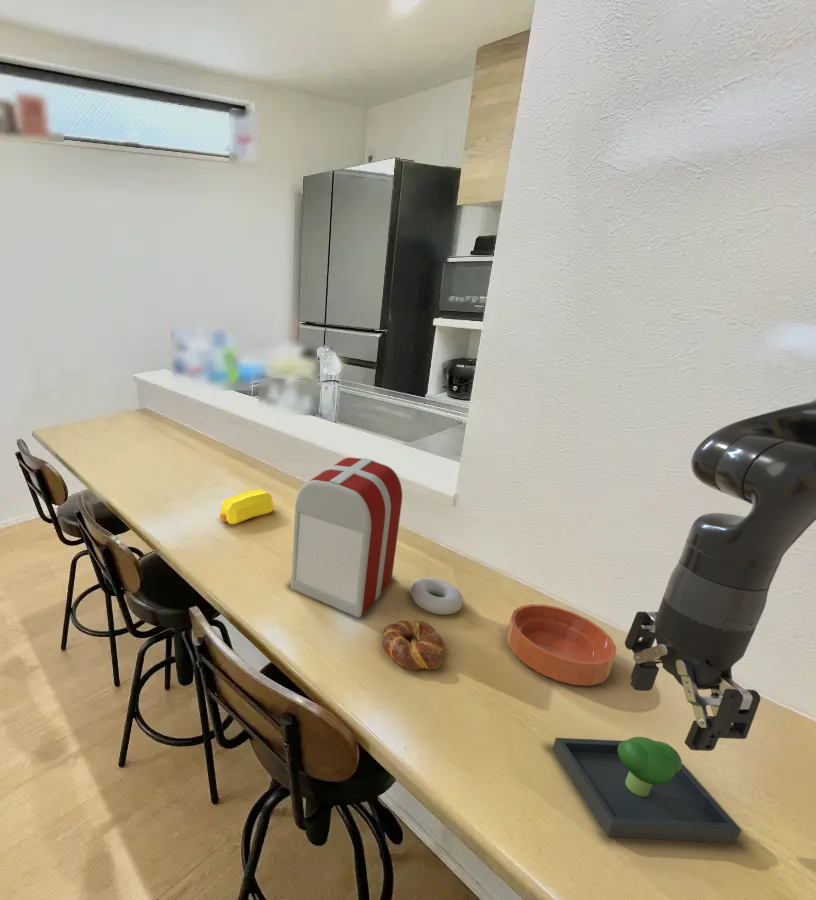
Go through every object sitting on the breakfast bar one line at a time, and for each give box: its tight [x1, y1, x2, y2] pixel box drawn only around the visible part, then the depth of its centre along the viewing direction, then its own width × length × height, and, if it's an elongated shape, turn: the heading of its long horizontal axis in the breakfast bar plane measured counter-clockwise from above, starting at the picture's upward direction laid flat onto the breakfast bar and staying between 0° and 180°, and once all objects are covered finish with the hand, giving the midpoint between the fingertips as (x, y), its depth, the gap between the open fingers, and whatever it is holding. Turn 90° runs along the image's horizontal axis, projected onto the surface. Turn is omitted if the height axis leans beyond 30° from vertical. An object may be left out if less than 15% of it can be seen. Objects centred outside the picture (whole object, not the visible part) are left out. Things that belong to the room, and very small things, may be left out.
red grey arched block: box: [290, 456, 403, 618], centre depth 104 cm, size 16×18×27 cm
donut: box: [410, 577, 464, 616], centre depth 101 cm, size 10×4×10 cm
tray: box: [552, 737, 742, 844], centre depth 64 cm, size 15×12×2 cm
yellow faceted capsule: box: [219, 488, 274, 526], centre depth 138 cm, size 18×7×8 cm
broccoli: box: [618, 736, 683, 797], centre depth 63 cm, size 7×5×8 cm
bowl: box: [506, 603, 617, 687], centre depth 87 cm, size 15×15×5 cm
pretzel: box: [381, 620, 445, 671], centre depth 89 cm, size 12×11×4 cm
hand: (666, 716), depth 60 cm, fingers open, 8 cm apart
